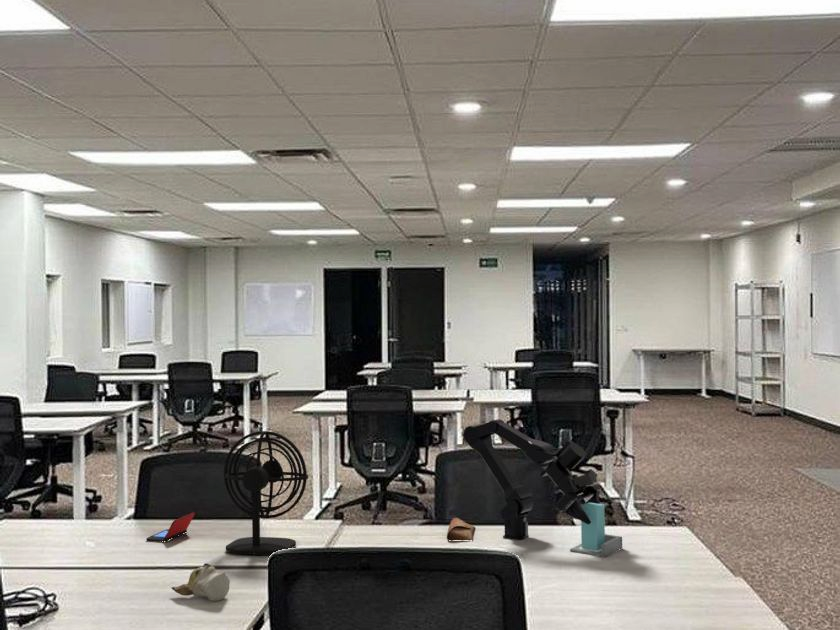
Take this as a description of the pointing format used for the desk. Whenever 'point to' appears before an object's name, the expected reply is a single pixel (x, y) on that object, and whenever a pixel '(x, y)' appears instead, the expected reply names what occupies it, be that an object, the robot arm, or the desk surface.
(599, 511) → the block
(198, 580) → the ceramic sculpture
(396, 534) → the desk surface
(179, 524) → the handheld game console
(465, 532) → the sunglasses case
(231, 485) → the desk fan
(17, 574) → the desk surface
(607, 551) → the tray
